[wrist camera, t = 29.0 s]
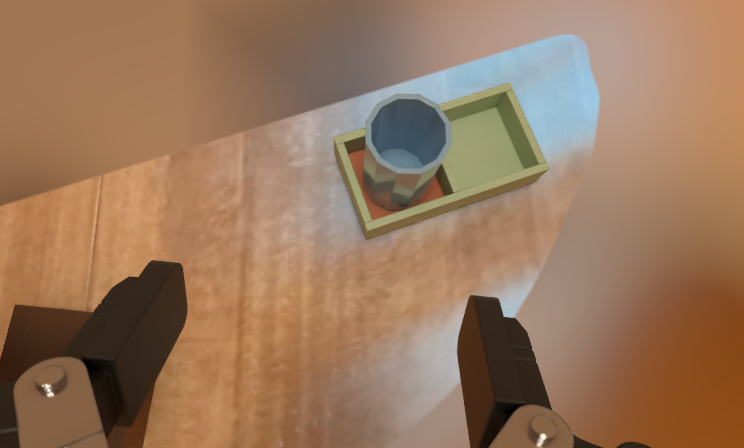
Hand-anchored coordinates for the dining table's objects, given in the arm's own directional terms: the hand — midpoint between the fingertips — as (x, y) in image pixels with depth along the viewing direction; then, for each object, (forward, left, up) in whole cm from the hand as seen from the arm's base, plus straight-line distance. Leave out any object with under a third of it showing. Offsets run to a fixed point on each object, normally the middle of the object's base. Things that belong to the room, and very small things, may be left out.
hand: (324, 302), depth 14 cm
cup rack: (+17, 0, -29) cm, 33 cm away
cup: (+14, +2, -28) cm, 31 cm away
